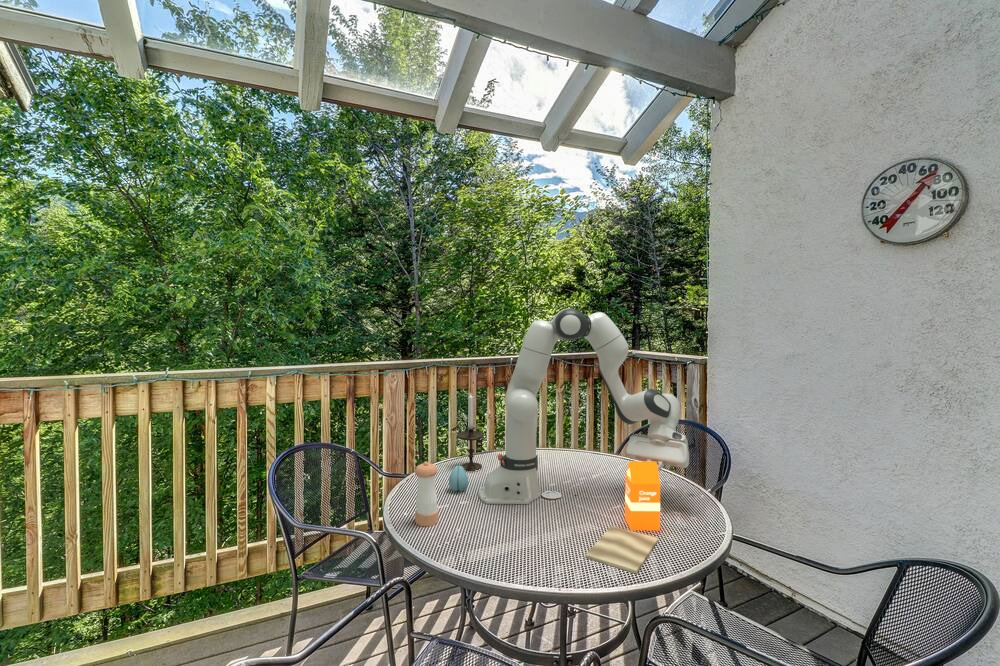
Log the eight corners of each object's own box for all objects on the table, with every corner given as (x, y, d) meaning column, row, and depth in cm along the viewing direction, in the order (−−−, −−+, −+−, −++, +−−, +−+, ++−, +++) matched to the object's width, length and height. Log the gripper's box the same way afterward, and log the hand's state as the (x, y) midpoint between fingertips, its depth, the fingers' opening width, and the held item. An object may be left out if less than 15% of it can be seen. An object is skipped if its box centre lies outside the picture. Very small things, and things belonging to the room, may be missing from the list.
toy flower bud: (469, 460, 182) (467, 469, 170) (469, 483, 182) (467, 493, 170) (450, 461, 182) (447, 469, 170) (450, 484, 182) (448, 494, 170)
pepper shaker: (431, 528, 144) (430, 467, 143) (410, 524, 147) (409, 464, 146) (442, 518, 151) (441, 459, 150) (422, 514, 154) (421, 457, 153)
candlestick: (481, 473, 191) (480, 388, 189) (455, 471, 193) (454, 387, 191) (486, 464, 202) (485, 383, 200) (461, 463, 204) (461, 383, 202)
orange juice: (624, 518, 150) (625, 457, 149) (652, 518, 150) (653, 457, 149) (630, 530, 143) (631, 465, 141) (660, 530, 142) (661, 465, 141)
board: (636, 573, 120) (636, 570, 120) (585, 557, 127) (585, 554, 127) (658, 540, 136) (658, 538, 136) (611, 528, 144) (611, 525, 144)
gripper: (629, 428, 166) (619, 463, 159) (690, 436, 155) (683, 474, 147) (633, 437, 170) (623, 472, 162) (693, 446, 159) (686, 484, 151)
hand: (652, 473), depth 155 cm, fingers closed
